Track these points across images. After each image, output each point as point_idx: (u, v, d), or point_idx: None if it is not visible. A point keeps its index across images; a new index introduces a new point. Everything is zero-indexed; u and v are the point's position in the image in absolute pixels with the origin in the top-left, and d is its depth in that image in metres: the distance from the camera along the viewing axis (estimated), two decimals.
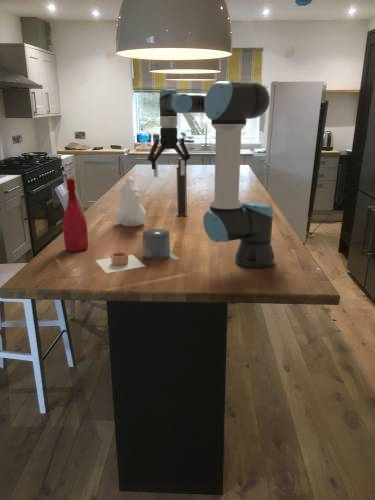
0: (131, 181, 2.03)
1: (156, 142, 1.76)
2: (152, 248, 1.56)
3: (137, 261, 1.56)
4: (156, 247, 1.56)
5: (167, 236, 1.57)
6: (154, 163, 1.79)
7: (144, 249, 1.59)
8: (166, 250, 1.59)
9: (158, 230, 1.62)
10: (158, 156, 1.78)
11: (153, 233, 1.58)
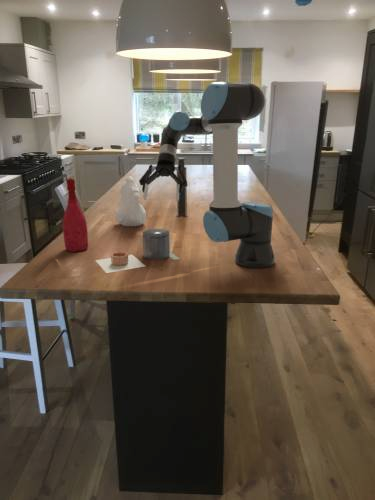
0: (131, 181, 2.03)
1: (149, 167, 1.72)
2: (152, 248, 1.56)
3: (137, 261, 1.56)
4: (156, 247, 1.56)
5: (167, 236, 1.57)
6: (144, 185, 1.69)
7: (144, 249, 1.59)
8: (166, 250, 1.59)
9: (158, 230, 1.62)
10: (149, 178, 1.70)
11: (153, 233, 1.58)
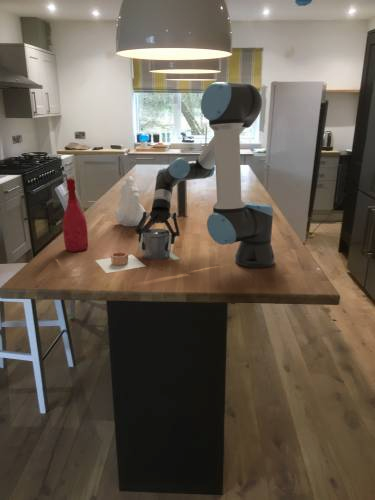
0: (131, 181, 2.03)
1: (144, 214, 1.65)
2: (152, 248, 1.56)
3: (137, 261, 1.56)
4: (156, 247, 1.56)
5: (167, 236, 1.57)
6: (140, 235, 1.62)
7: (144, 249, 1.59)
8: (167, 250, 1.59)
9: (158, 230, 1.62)
10: (145, 227, 1.62)
11: (153, 233, 1.58)
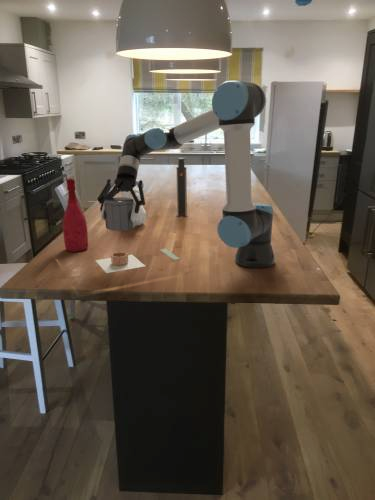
0: None
1: (108, 182, 1.54)
2: (113, 217, 1.45)
3: (137, 261, 1.56)
4: (118, 216, 1.44)
5: (130, 204, 1.46)
6: (103, 203, 1.50)
7: (106, 218, 1.48)
8: (130, 219, 1.47)
9: (122, 198, 1.50)
10: (108, 195, 1.51)
11: (115, 201, 1.46)
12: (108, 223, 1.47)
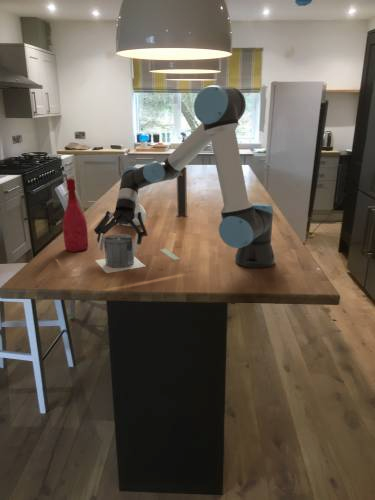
0: None
1: (106, 214, 1.56)
2: (113, 255, 1.48)
3: (137, 261, 1.56)
4: (118, 254, 1.47)
5: (130, 242, 1.49)
6: (100, 234, 1.53)
7: (106, 256, 1.50)
8: (129, 256, 1.50)
9: (121, 236, 1.53)
10: (105, 227, 1.53)
11: (115, 239, 1.49)
12: (108, 261, 1.50)
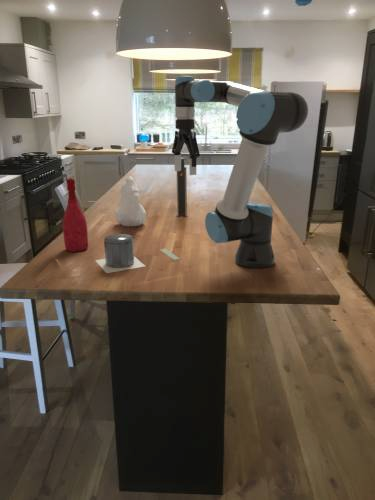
0: (131, 181, 2.03)
1: (175, 134, 1.67)
2: (113, 255, 1.48)
3: (137, 261, 1.56)
4: (118, 254, 1.47)
5: (130, 242, 1.49)
6: (175, 156, 1.71)
7: (106, 256, 1.50)
8: (129, 256, 1.50)
9: (121, 236, 1.53)
10: (176, 149, 1.68)
11: (115, 239, 1.49)
12: (108, 261, 1.50)
